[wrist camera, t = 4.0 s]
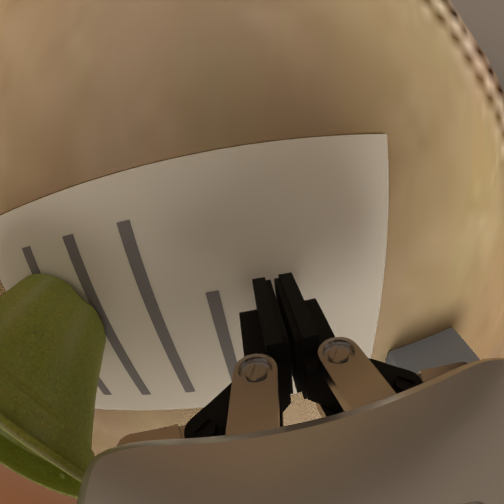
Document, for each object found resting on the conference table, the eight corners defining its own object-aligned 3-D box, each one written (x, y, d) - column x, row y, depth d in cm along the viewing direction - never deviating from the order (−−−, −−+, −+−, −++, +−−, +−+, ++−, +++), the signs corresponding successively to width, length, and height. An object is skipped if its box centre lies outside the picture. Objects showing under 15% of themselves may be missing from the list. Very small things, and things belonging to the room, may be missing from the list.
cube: (431, 375, 19) (462, 423, 14) (374, 398, 19) (400, 456, 14) (451, 326, 17) (494, 378, 11) (387, 350, 16) (428, 418, 11)
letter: (366, 372, 17) (367, 375, 17) (84, 405, 16) (83, 408, 16) (384, 133, 10) (387, 134, 10) (-19, 224, 10) (-22, 226, 10)
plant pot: (147, 386, 15) (130, 515, 7) (28, 362, 14) (-15, 457, 6) (123, 246, 11) (25, 422, 3) (-17, 239, 10) (-113, 330, 2)
